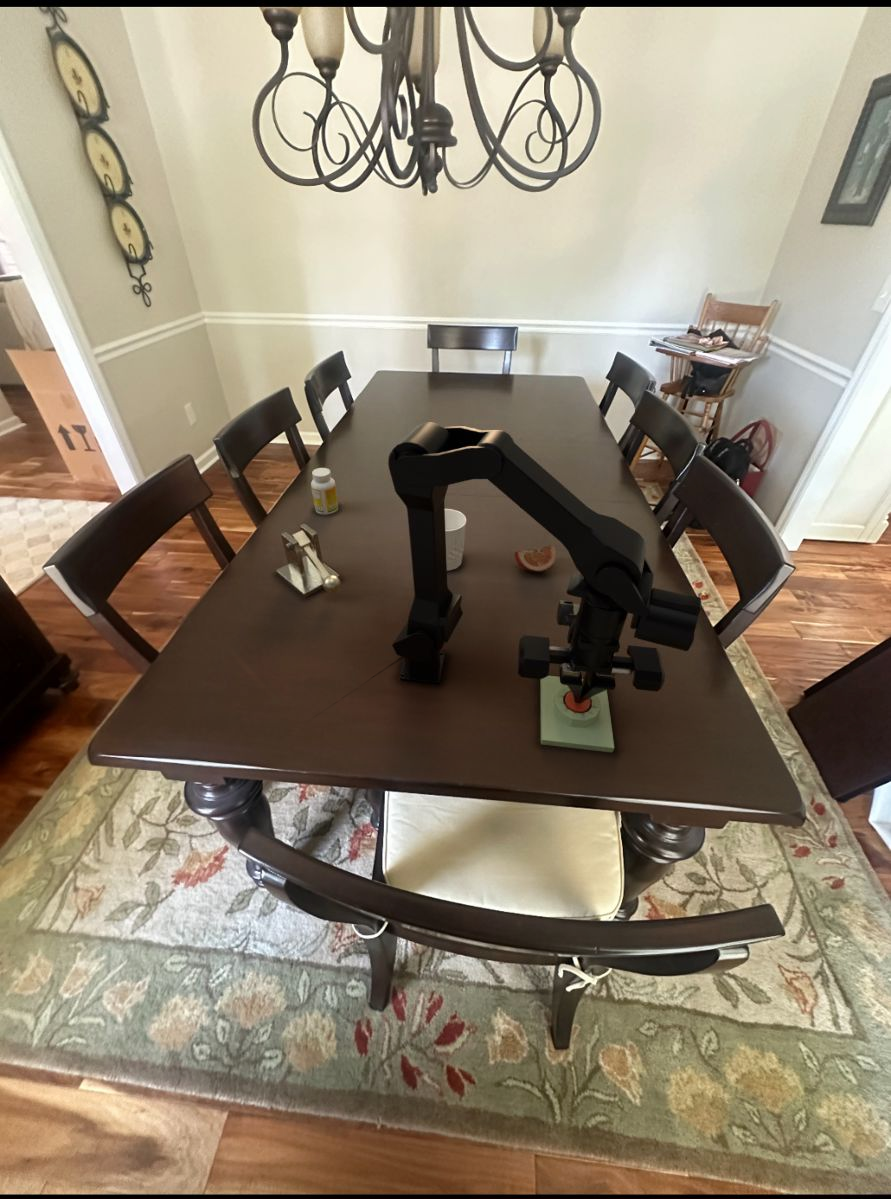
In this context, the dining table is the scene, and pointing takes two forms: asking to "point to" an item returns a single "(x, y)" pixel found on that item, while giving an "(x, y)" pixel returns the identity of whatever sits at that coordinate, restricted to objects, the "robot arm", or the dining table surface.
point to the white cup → (454, 537)
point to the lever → (317, 563)
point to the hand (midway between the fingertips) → (577, 700)
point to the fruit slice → (536, 558)
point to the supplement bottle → (324, 491)
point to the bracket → (302, 564)
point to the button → (576, 704)
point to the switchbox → (574, 719)
